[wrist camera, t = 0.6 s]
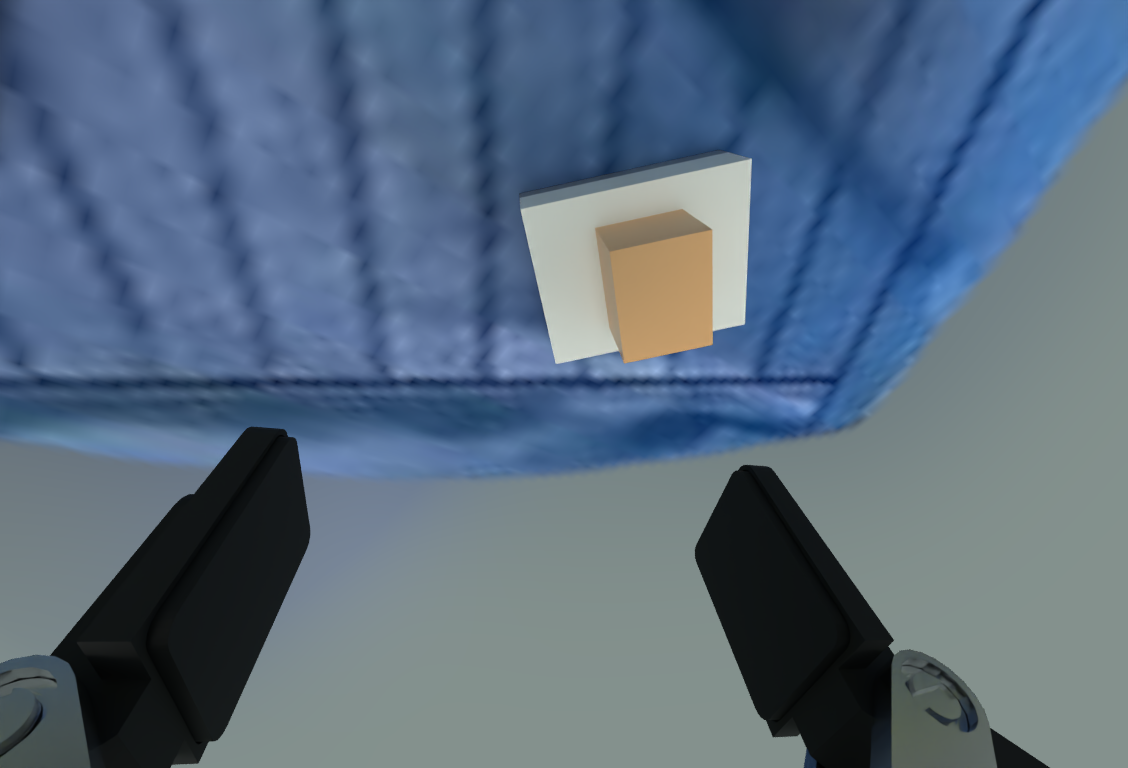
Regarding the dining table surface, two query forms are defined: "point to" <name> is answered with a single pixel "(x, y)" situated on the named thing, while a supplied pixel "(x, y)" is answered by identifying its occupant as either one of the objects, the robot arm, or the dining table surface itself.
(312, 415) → the dining table surface
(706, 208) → the socket block
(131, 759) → the robot arm
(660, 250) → the plug
